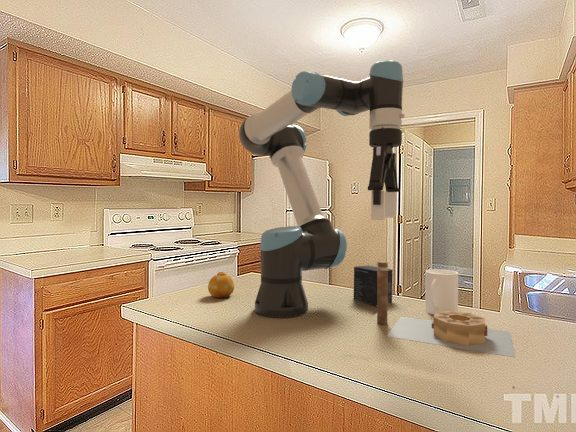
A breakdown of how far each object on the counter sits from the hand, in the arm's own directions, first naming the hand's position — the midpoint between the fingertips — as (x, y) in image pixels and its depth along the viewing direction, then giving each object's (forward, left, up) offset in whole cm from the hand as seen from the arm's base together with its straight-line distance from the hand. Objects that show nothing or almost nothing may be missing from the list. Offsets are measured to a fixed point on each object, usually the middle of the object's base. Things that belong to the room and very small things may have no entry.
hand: (384, 218), depth 90 cm
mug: (+11, +15, -27) cm, 32 cm away
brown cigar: (0, -1, -27) cm, 27 cm away
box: (-9, +23, -27) cm, 36 cm away
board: (+15, -1, -27) cm, 30 cm away
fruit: (-54, +6, -27) cm, 61 cm away
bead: (+17, -2, -25) cm, 30 cm away
